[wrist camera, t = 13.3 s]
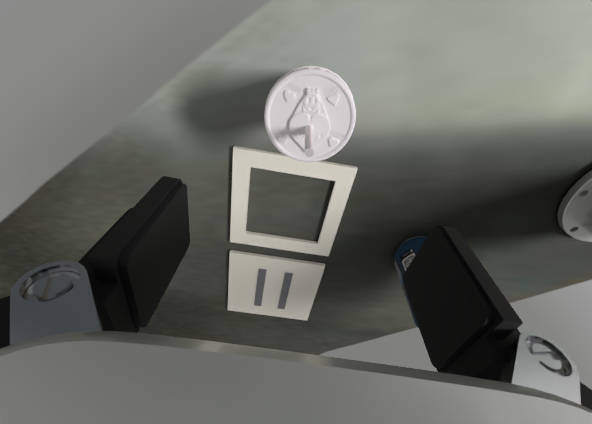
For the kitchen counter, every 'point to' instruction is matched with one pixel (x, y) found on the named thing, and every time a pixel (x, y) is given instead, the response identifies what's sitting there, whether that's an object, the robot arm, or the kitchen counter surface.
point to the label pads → (280, 240)
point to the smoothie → (309, 114)
